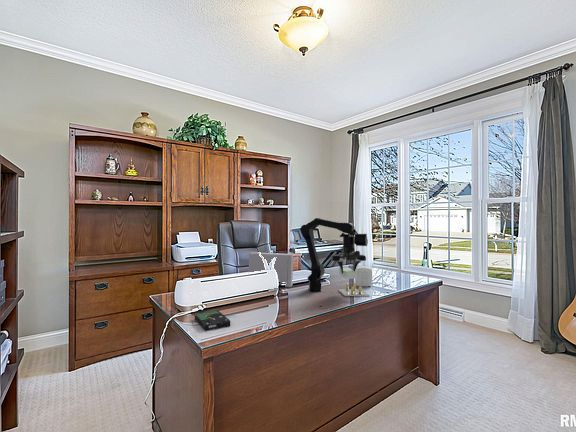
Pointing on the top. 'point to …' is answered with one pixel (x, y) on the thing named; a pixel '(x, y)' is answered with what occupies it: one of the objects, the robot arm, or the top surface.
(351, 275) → the pale green block
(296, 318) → the top surface
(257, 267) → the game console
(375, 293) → the top surface
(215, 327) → the disk drive
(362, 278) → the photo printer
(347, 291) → the chassis
